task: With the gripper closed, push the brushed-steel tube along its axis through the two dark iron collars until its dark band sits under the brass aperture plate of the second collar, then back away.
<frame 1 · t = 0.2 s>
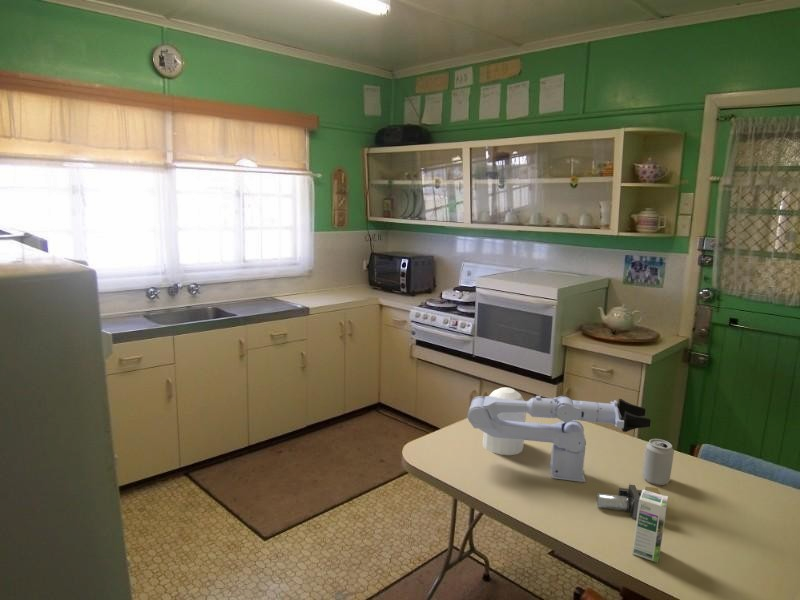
hand: (647, 417, 154), 21 cm above the table, tool horizontal, fingers open, 7 cm apart
collar bracket: (642, 512, 145), on the table
tube: (621, 503, 145), point 2 cm above the table, slide at 0.0 cm
can: (655, 480, 162), on the table
container: (502, 446, 180), on the table
syrup box: (646, 552, 129), on the table
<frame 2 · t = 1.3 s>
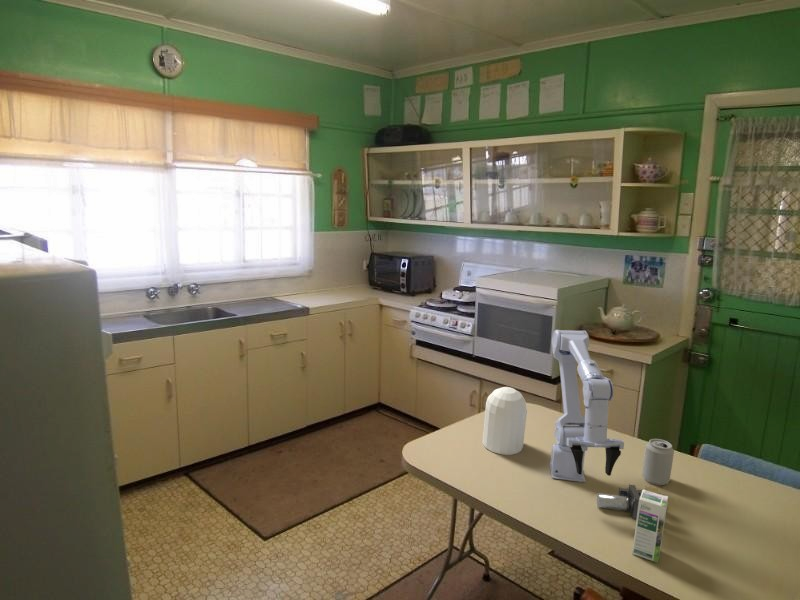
hand: (593, 473, 145), 10 cm above the table, tool pointing down, fingers open, 7 cm apart
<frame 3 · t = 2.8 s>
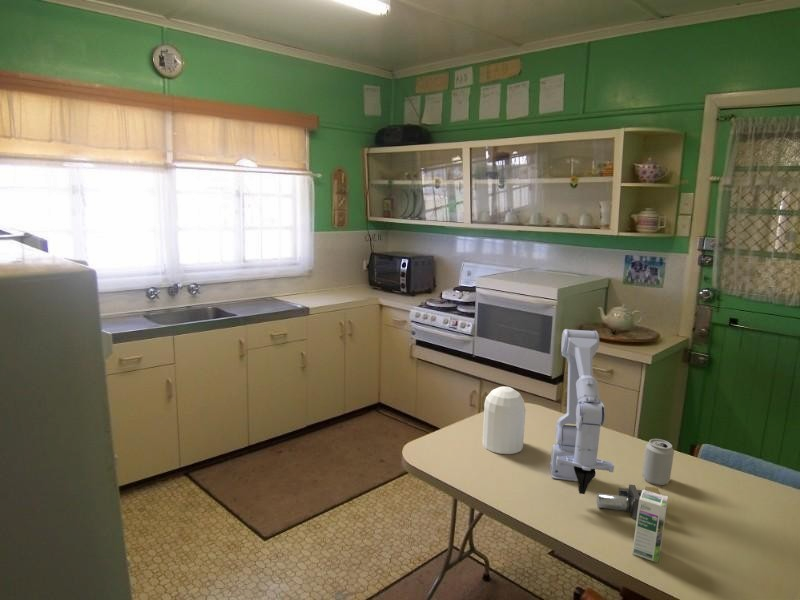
hand: (581, 491, 147), 4 cm above the table, tool pointing down, fingers closed
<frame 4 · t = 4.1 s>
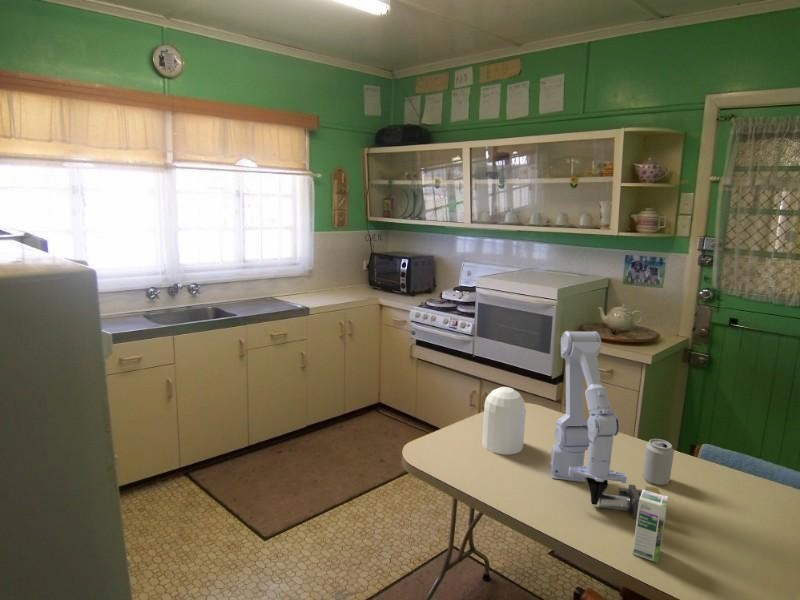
hand: (593, 502, 147), 1 cm above the table, tool pointing down, fingers closed
tube: (623, 503, 145), point 2 cm above the table, slide at 0.4 cm, touching gripper
everything else where it was.
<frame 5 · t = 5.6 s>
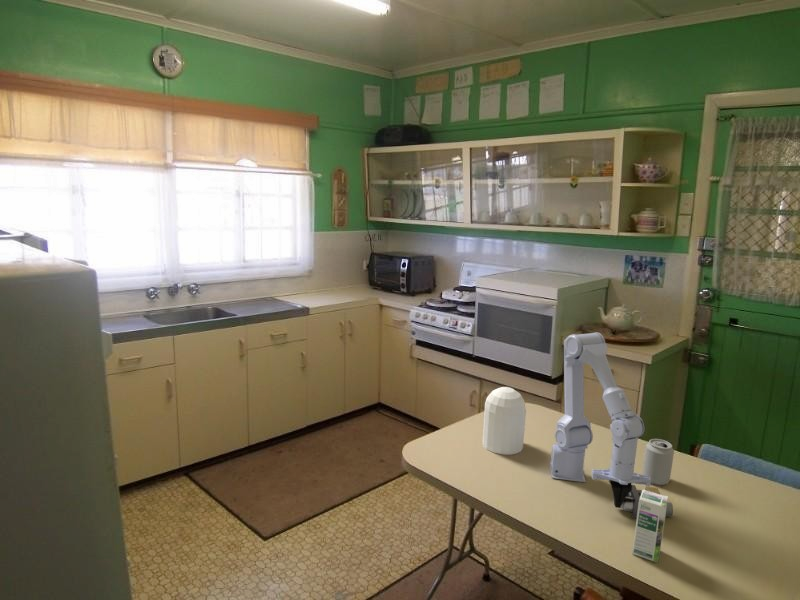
hand: (617, 505, 146), 1 cm above the table, tool pointing down, fingers closed
tube: (646, 506, 144), point 2 cm above the table, slide at 6.4 cm, touching gripper
everything else where it was.
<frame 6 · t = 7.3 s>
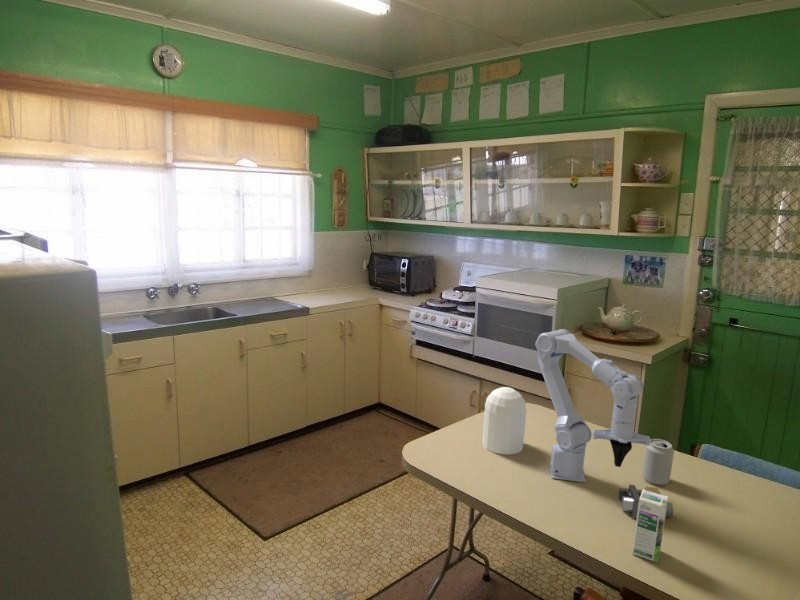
hand: (617, 465, 150), 10 cm above the table, tool pointing down, fingers closed
tube: (646, 506, 144), point 2 cm above the table, slide at 6.4 cm
everything else where it was.
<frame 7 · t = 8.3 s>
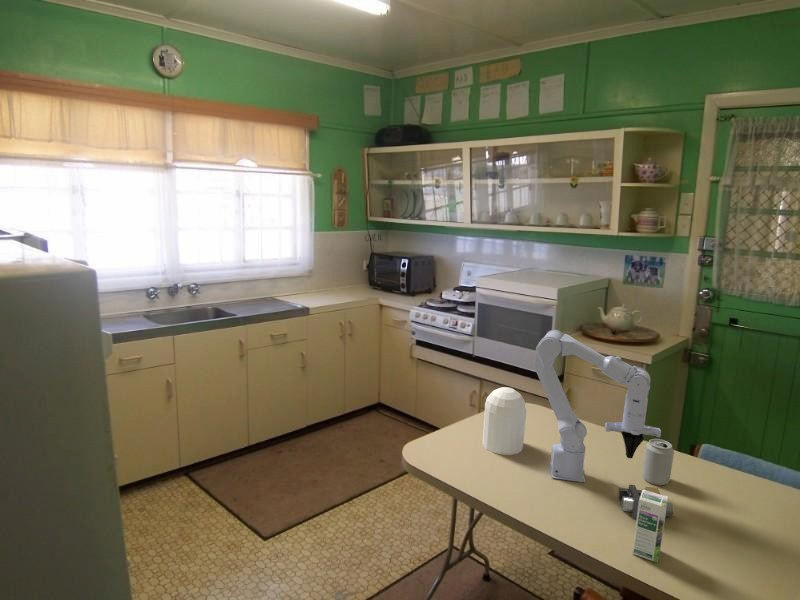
hand: (629, 456, 155), 10 cm above the table, tool pointing down, fingers closed
nothing on the table moved.
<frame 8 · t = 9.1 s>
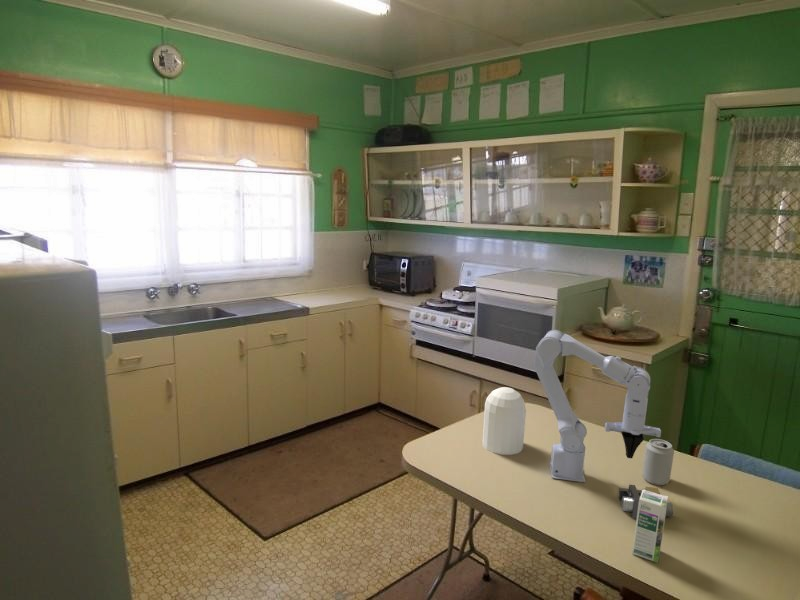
hand: (629, 456, 155), 10 cm above the table, tool pointing down, fingers closed
nothing on the table moved.
at the end: tube slide at 6.4 cm; the gripper is holding nothing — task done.
